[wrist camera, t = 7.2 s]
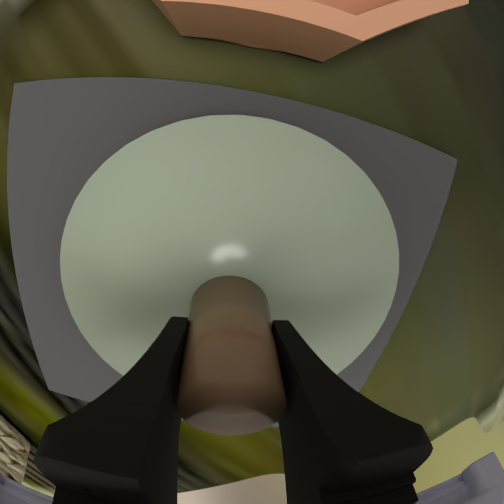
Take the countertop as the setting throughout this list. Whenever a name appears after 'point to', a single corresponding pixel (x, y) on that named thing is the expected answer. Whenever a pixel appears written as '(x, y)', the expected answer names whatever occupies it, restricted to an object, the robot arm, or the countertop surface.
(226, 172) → the lid
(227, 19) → the bowl
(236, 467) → the countertop surface
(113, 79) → the rubber mat
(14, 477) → the storage basket
